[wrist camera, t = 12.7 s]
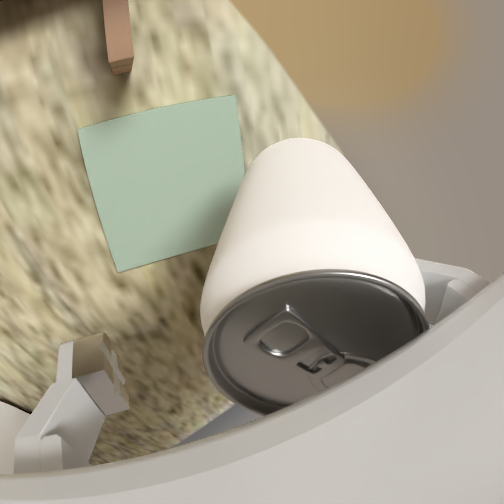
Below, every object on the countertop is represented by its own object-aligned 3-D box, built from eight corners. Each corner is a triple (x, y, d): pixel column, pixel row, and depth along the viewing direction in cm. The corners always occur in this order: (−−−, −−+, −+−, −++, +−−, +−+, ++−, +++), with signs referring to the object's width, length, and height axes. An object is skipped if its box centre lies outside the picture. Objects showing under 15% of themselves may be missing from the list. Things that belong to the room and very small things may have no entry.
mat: (250, 232, 26) (251, 234, 26) (117, 269, 23) (117, 272, 23) (233, 95, 20) (235, 95, 20) (78, 129, 17) (77, 129, 17)
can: (302, 262, 20) (309, 445, 9) (219, 196, 18) (140, 363, 8) (379, 191, 17) (479, 350, 7) (296, 111, 15) (327, 177, 5)
